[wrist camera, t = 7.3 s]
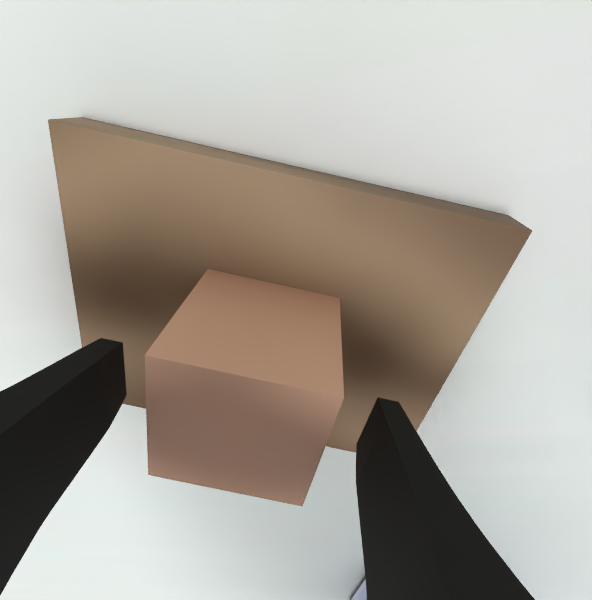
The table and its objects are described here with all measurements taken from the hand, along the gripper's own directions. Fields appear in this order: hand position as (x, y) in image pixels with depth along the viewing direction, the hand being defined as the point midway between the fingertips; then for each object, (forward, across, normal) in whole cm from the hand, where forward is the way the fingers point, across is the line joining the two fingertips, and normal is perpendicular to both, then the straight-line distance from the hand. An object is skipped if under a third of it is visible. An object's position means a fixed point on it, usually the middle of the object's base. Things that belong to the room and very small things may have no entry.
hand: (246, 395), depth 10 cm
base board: (+5, 0, 0) cm, 5 cm away
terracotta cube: (+3, 0, 0) cm, 3 cm away
